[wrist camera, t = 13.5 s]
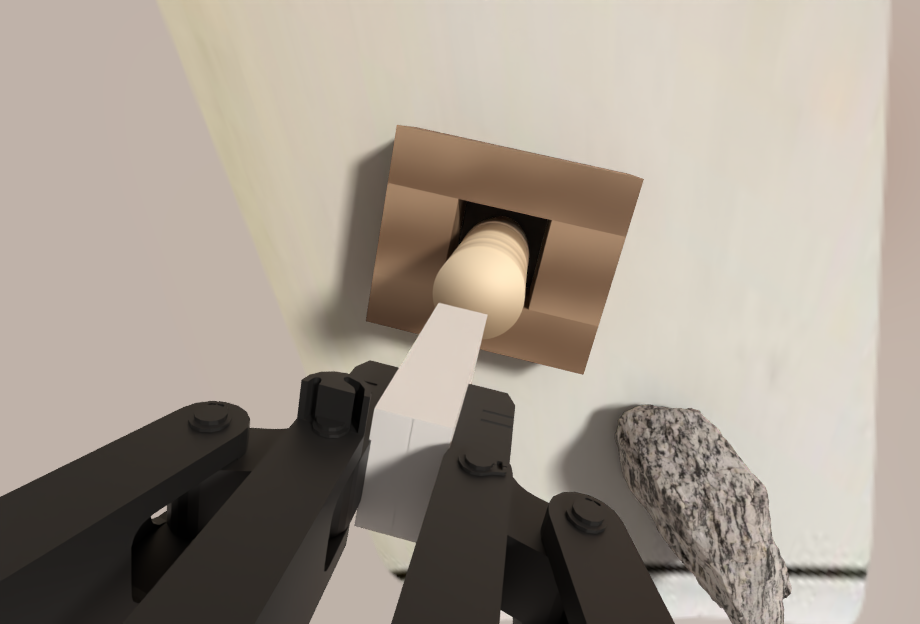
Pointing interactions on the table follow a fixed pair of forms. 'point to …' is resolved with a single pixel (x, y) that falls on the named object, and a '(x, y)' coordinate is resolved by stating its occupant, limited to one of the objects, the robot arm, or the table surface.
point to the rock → (706, 508)
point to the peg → (487, 274)
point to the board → (516, 189)
